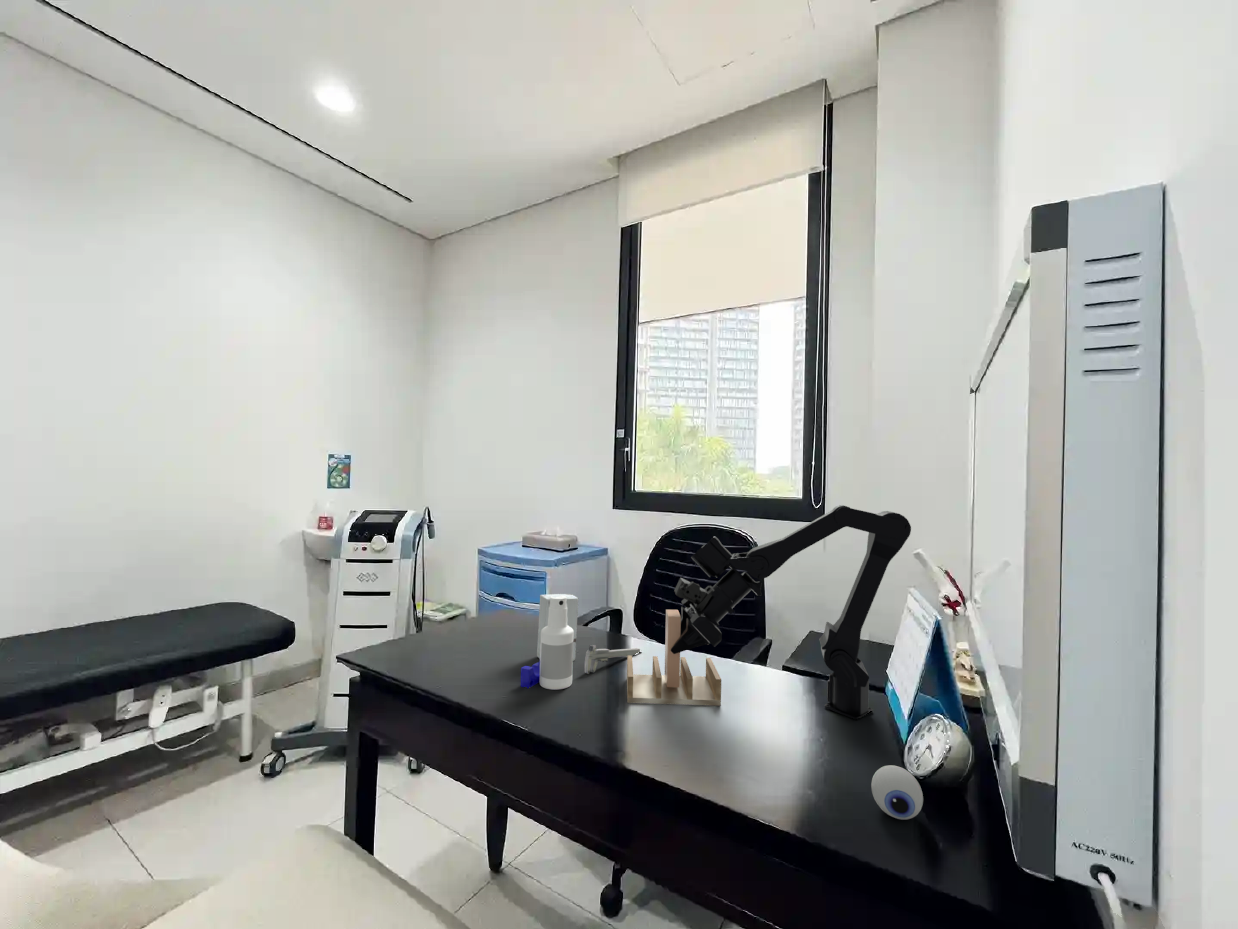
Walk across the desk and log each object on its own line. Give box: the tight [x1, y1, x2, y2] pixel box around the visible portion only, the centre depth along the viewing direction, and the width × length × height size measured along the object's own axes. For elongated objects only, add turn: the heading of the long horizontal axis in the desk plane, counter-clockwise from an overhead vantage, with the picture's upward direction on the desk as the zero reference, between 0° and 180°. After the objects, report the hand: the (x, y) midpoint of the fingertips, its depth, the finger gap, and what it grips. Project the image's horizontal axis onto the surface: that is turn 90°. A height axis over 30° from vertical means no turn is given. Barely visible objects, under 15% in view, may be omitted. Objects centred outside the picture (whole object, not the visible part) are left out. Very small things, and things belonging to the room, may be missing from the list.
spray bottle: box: [539, 595, 574, 691], centre depth 108 cm, size 7×7×18 cm
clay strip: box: [664, 609, 682, 688], centre depth 106 cm, size 2×6×14 cm, turn 0°
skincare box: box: [536, 593, 579, 662], centre depth 123 cm, size 8×6×15 cm
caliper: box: [584, 644, 641, 675], centre depth 121 cm, size 20×1×6 cm, turn 141°
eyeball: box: [870, 764, 924, 821], centre depth 68 cm, size 6×6×6 cm
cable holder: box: [520, 661, 540, 689], centre depth 109 cm, size 8×4×4 cm, turn 153°
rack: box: [626, 655, 722, 707], centre depth 105 cm, size 18×12×5 cm, turn 90°
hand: (670, 647), depth 106 cm, fingers closed on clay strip, 5 cm apart
